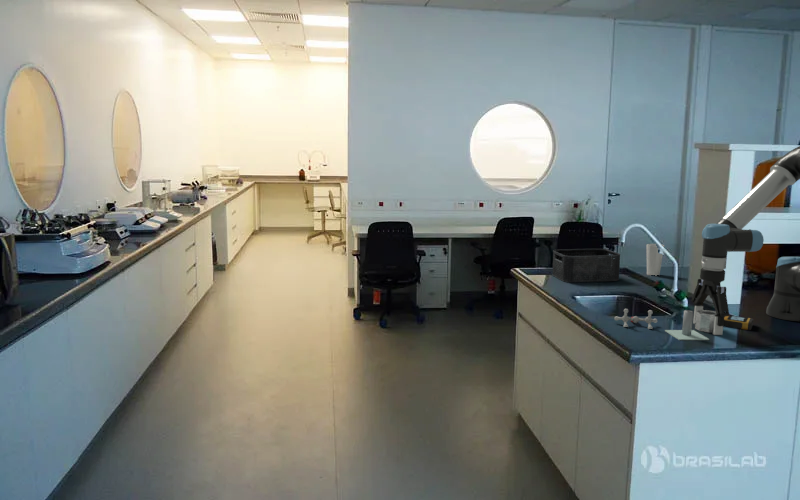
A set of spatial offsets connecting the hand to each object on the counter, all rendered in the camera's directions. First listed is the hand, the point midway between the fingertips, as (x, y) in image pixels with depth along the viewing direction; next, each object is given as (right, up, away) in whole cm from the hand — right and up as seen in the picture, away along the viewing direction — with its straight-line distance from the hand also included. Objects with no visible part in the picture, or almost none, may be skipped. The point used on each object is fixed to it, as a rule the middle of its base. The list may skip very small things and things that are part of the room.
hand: (707, 329), depth 204 cm
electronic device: (+11, 0, +7) cm, 13 cm away
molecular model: (-23, 0, +5) cm, 23 cm away
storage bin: (-16, +13, +86) cm, 88 cm away
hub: (0, 0, 0) cm, 0 cm away
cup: (+22, +15, +94) cm, 98 cm away
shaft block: (-11, -1, -7) cm, 13 cm away
